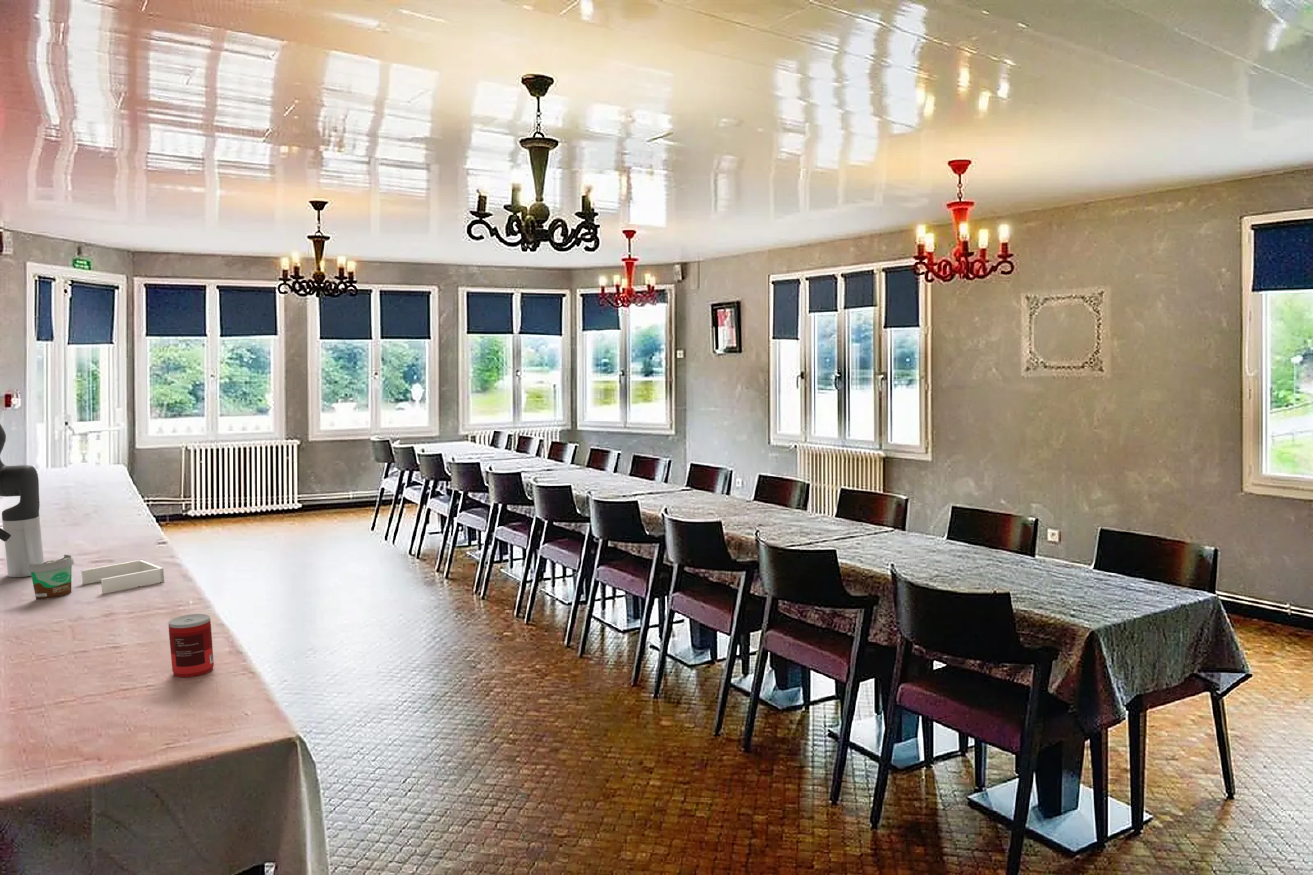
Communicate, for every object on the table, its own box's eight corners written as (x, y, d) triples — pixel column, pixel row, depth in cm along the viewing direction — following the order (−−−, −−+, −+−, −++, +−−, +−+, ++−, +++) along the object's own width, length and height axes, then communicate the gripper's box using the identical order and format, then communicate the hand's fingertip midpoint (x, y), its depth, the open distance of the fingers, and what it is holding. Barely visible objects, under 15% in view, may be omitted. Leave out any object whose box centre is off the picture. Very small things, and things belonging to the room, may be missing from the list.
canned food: (201, 662, 193) (197, 611, 191) (222, 669, 188) (218, 617, 187) (164, 673, 186) (160, 621, 185) (185, 680, 182) (181, 627, 181)
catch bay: (82, 583, 263) (81, 570, 263) (142, 572, 275) (141, 559, 274) (103, 593, 251) (101, 579, 251) (164, 581, 263) (163, 568, 262)
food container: (50, 601, 245) (47, 565, 244) (31, 601, 246) (27, 564, 245) (87, 589, 257) (84, 554, 256) (69, 588, 258) (65, 554, 257)
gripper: (-38, 489, 228) (23, 528, 238) (-51, 484, 238) (9, 522, 248) (-62, 513, 225) (1, 552, 235) (-74, 508, 234) (-13, 545, 244)
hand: (5, 537), depth 241 cm, fingers open, 5 cm apart
